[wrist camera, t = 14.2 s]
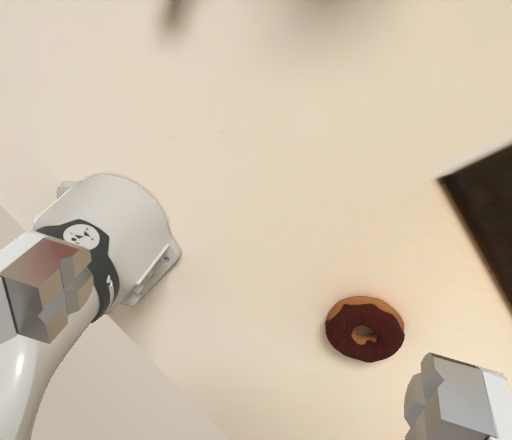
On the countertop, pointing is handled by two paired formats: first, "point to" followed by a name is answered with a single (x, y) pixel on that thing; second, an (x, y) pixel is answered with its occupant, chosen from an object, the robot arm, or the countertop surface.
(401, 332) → the donut
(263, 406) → the countertop surface
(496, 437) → the robot arm
